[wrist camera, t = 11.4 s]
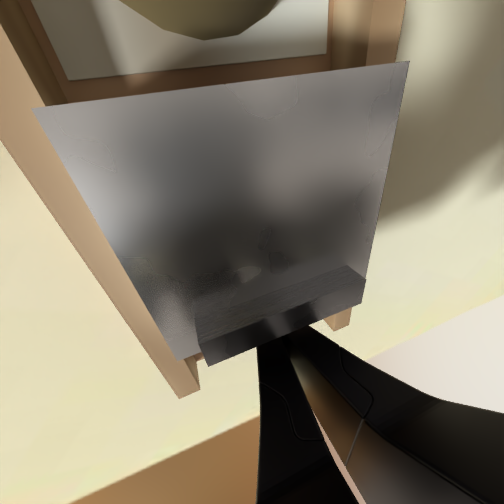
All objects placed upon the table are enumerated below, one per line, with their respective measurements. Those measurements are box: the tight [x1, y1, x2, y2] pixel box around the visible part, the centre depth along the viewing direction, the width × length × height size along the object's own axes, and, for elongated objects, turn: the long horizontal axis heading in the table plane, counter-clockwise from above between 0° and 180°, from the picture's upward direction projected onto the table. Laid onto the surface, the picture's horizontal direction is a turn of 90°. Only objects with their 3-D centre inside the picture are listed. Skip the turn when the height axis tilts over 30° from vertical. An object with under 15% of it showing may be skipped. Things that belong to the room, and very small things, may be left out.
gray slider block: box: [31, 61, 410, 367], centre depth 6 cm, size 7×6×4 cm
